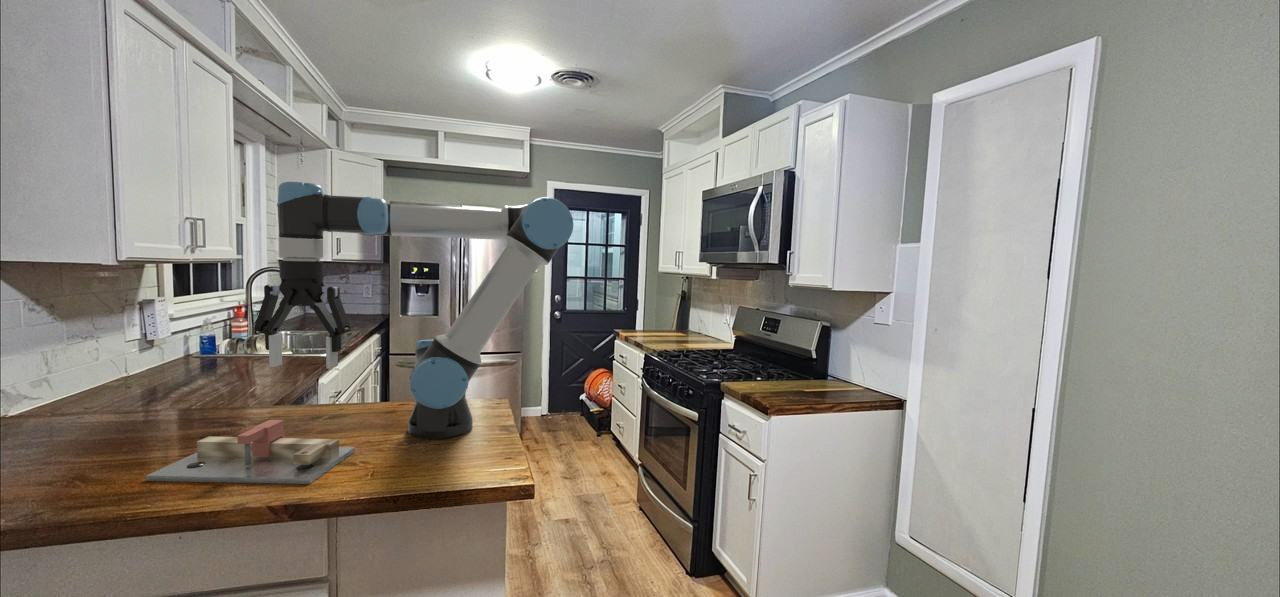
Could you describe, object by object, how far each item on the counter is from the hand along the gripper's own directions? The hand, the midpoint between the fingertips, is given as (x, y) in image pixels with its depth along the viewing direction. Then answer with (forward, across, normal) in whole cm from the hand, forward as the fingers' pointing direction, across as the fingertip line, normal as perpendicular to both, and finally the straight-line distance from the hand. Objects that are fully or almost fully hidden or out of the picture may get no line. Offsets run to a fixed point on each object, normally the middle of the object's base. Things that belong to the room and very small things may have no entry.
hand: (304, 366), depth 104 cm
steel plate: (+20, +8, +3) cm, 21 cm away
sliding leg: (+18, +7, +2) cm, 20 cm away
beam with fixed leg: (+19, +7, +3) cm, 20 cm away
